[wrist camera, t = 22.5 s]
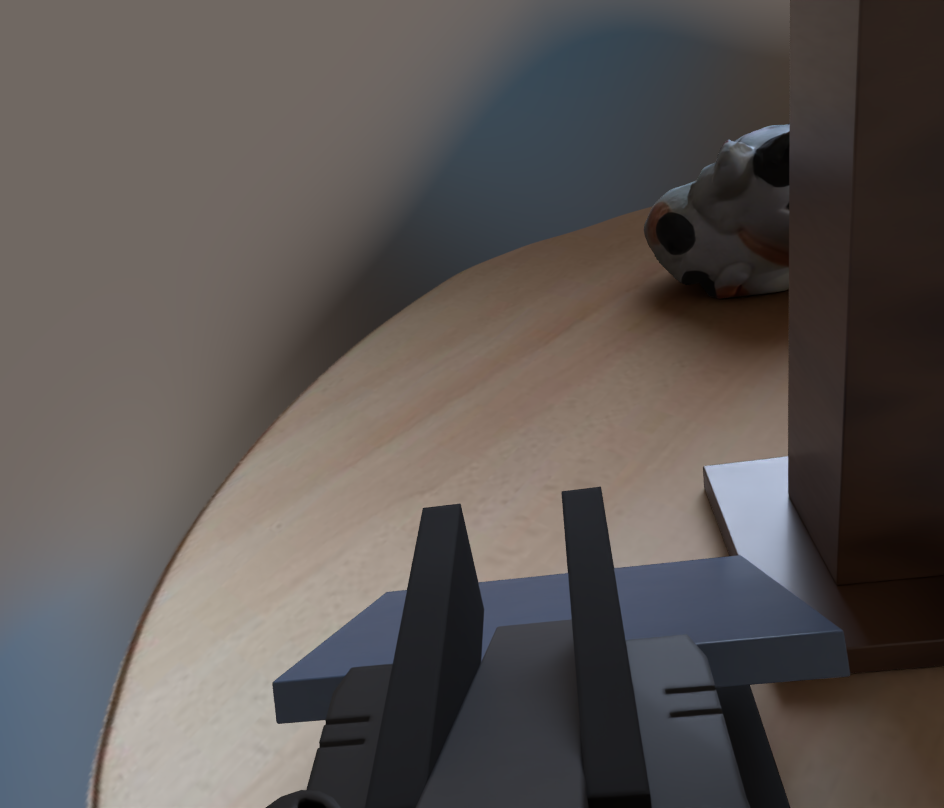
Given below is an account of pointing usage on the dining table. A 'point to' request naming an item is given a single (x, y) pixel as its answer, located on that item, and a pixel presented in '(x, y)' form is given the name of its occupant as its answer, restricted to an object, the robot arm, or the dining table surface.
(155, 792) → the dining table surface
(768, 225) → the lucky cat figurine
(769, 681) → the lid
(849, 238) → the box on pedestal
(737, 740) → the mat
